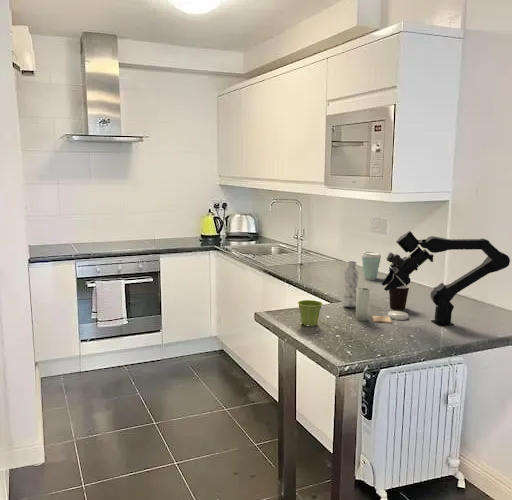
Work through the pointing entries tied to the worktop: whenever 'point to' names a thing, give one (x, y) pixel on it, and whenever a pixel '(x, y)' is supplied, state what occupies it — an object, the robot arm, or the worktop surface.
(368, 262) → the disposable coffee cup
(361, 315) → the tumbler
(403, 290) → the coffee mug
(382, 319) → the coaster
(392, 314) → the ivory rounded dome part
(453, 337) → the worktop surface
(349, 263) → the plastic bottle
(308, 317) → the plant pot
